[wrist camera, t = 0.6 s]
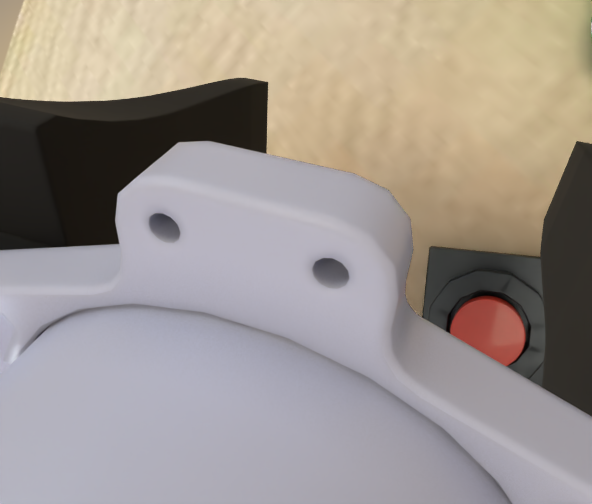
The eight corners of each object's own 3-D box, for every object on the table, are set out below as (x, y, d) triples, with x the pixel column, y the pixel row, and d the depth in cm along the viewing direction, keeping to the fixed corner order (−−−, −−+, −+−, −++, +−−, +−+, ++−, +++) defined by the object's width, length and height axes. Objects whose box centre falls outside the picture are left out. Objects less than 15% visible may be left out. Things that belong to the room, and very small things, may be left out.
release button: (520, 368, 31) (521, 376, 29) (449, 356, 32) (446, 363, 31) (527, 300, 31) (529, 304, 29) (456, 291, 32) (454, 294, 31)
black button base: (548, 403, 33) (553, 419, 30) (417, 379, 36) (411, 391, 33) (565, 259, 32) (572, 261, 30) (431, 246, 35) (426, 247, 32)
